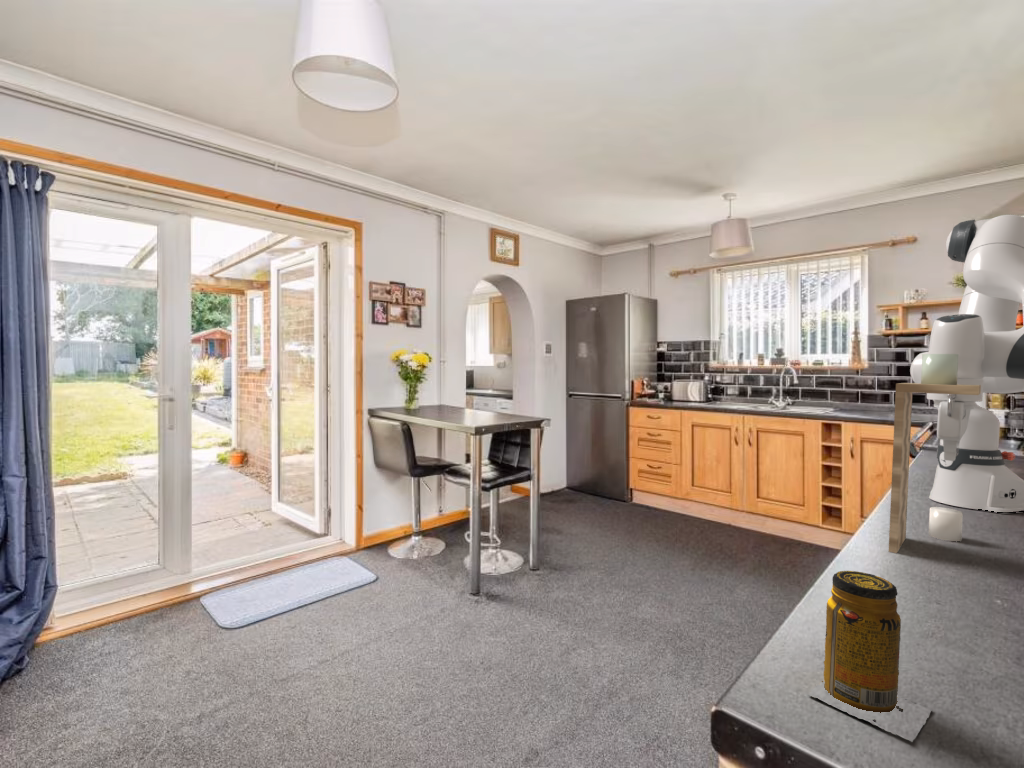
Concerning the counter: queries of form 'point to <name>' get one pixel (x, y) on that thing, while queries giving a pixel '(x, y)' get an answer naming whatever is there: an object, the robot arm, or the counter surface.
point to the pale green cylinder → (939, 369)
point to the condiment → (862, 642)
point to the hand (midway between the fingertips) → (951, 458)
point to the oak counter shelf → (903, 451)
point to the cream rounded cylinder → (945, 524)
